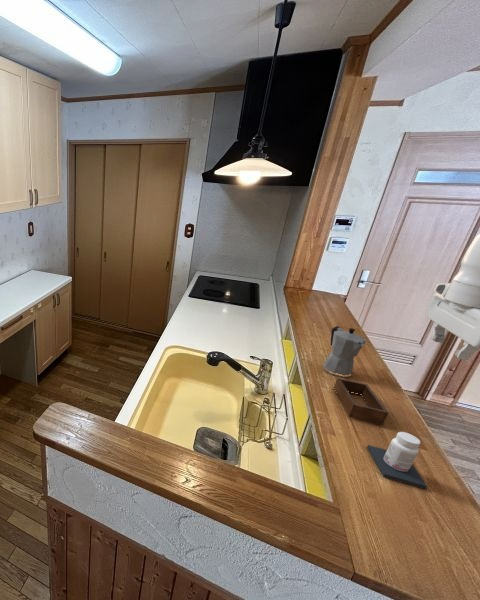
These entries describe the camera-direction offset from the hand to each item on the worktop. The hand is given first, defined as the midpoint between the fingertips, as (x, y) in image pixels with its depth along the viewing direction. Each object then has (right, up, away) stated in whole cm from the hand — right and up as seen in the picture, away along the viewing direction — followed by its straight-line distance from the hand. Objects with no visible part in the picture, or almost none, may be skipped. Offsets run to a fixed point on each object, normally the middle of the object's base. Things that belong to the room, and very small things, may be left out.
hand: (447, 349), depth 79 cm
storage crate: (-2, -22, +24) cm, 33 cm away
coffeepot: (+8, -15, +45) cm, 48 cm away
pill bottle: (-11, -29, +1) cm, 31 cm away
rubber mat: (-11, -30, +2) cm, 32 cm away
